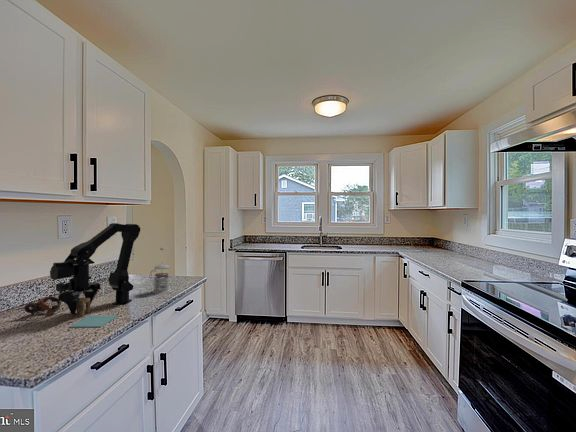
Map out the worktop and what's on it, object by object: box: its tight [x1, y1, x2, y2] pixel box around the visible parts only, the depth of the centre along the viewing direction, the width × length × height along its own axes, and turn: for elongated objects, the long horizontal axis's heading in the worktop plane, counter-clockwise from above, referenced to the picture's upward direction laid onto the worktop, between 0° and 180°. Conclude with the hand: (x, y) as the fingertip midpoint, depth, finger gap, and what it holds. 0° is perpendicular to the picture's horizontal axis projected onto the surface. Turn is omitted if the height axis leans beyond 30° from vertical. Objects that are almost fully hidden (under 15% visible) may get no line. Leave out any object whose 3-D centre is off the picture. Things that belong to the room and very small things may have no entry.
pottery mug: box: [23, 296, 62, 317], centre depth 123 cm, size 12×10×8 cm
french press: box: [148, 247, 171, 294], centre depth 163 cm, size 10×12×25 cm
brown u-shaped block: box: [70, 297, 91, 318], centre depth 124 cm, size 5×5×7 cm
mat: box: [69, 314, 119, 328], centre depth 117 cm, size 12×12×1 cm
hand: (80, 310), depth 124 cm, fingers open, 9 cm apart
